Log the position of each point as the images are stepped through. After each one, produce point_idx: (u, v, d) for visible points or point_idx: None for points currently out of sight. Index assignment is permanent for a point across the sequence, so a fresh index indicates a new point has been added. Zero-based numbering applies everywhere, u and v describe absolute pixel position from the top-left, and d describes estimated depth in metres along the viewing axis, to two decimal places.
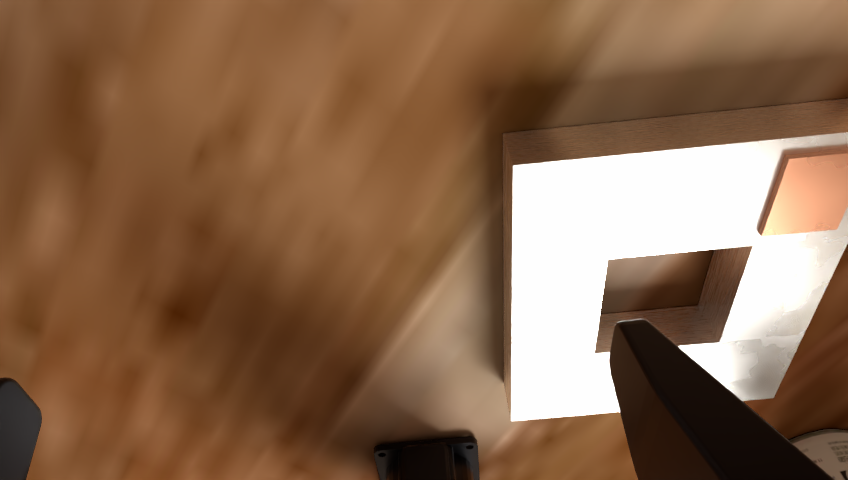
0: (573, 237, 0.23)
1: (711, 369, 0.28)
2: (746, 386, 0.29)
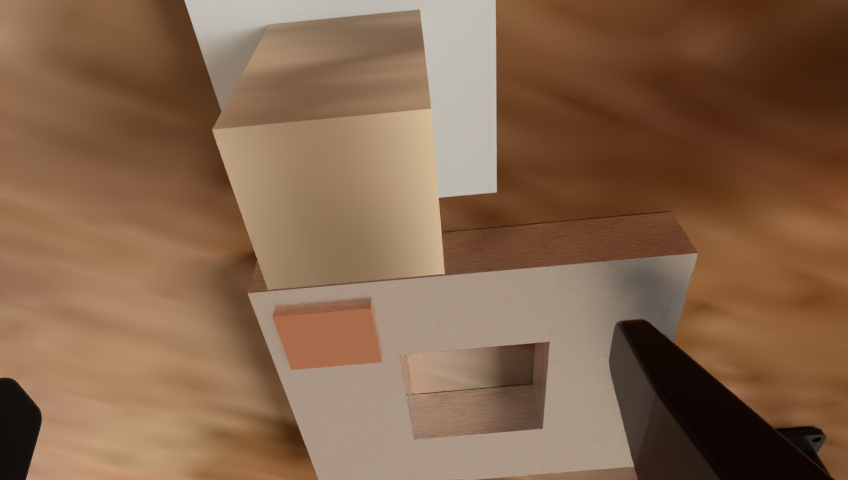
0: (387, 460, 0.27)
1: (601, 335, 0.22)
2: (654, 292, 0.21)
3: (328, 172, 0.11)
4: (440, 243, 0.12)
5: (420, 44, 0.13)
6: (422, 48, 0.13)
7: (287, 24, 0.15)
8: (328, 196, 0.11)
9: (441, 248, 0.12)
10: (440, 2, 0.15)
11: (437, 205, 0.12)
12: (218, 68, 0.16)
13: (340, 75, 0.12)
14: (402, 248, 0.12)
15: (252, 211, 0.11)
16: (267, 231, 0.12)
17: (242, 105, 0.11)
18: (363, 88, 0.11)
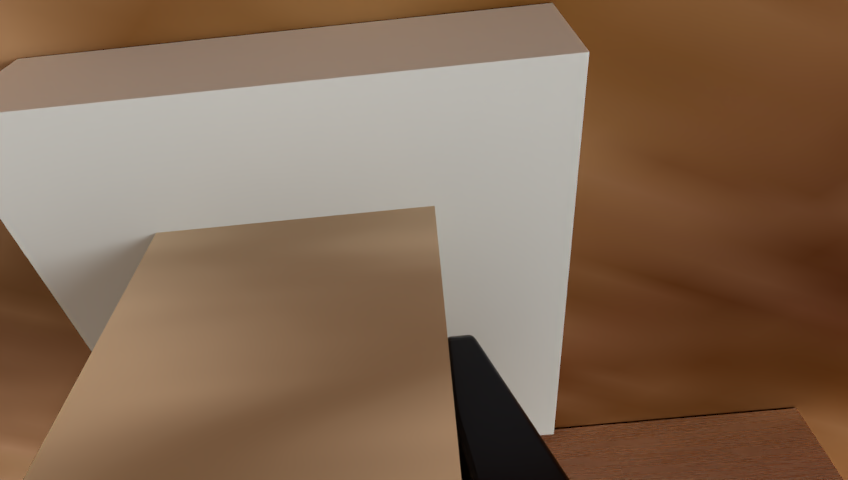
0: None
1: None
2: None
3: None
4: None
5: (443, 353, 0.06)
6: (446, 370, 0.06)
7: (187, 236, 0.08)
8: None
9: None
10: (473, 195, 0.08)
11: None
12: (74, 295, 0.09)
13: None
14: None
15: None
16: None
17: None
18: None
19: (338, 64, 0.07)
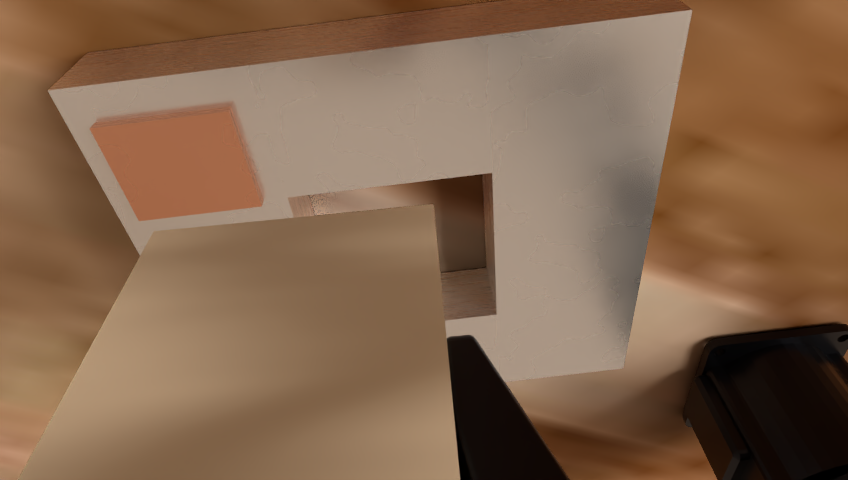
0: None
1: (562, 161, 0.16)
2: (631, 83, 0.15)
3: None
4: None
5: (441, 351, 0.06)
6: (445, 370, 0.06)
7: (185, 235, 0.08)
8: None
9: None
10: None
11: None
12: None
13: None
14: None
15: None
16: None
17: None
18: None
19: None
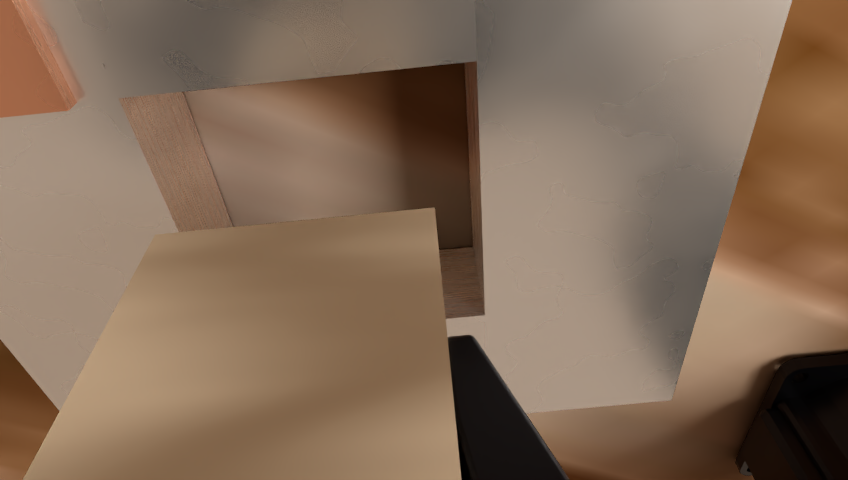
0: None
1: (601, 43, 0.09)
2: None
3: None
4: None
5: (443, 356, 0.06)
6: (447, 374, 0.06)
7: (186, 238, 0.08)
8: None
9: None
10: None
11: None
12: None
13: None
14: None
15: None
16: None
17: None
18: None
19: None
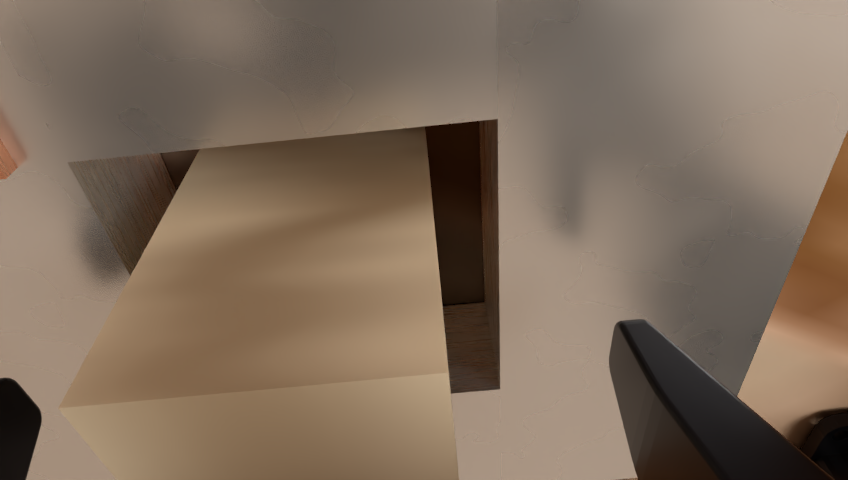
0: None
1: (648, 97, 0.08)
2: None
3: (271, 451, 0.06)
4: None
5: (426, 191, 0.08)
6: (428, 200, 0.08)
7: None
8: (275, 477, 0.07)
9: None
10: None
11: None
12: None
13: (297, 262, 0.07)
14: None
15: None
16: None
17: (126, 336, 0.07)
18: (330, 300, 0.07)
19: None
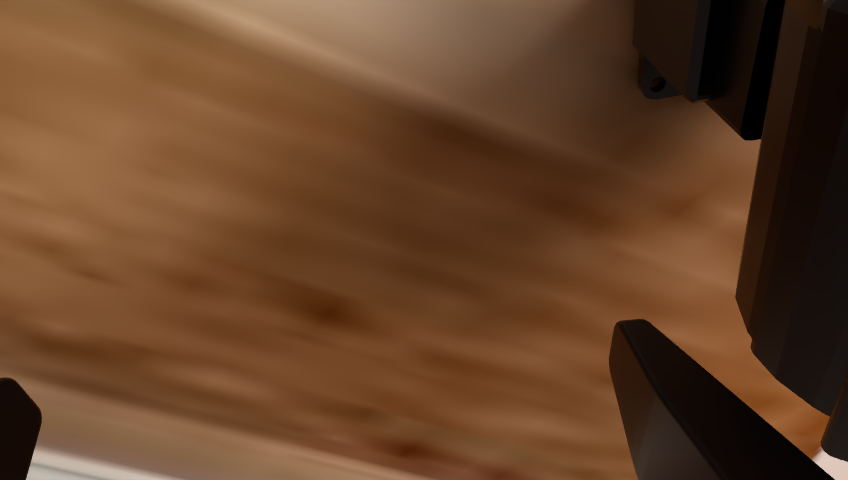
0: None
1: None
2: None
3: None
4: None
5: None
6: None
7: None
8: None
9: None
10: None
11: None
12: None
13: None
14: None
15: None
16: None
17: None
18: None
19: None
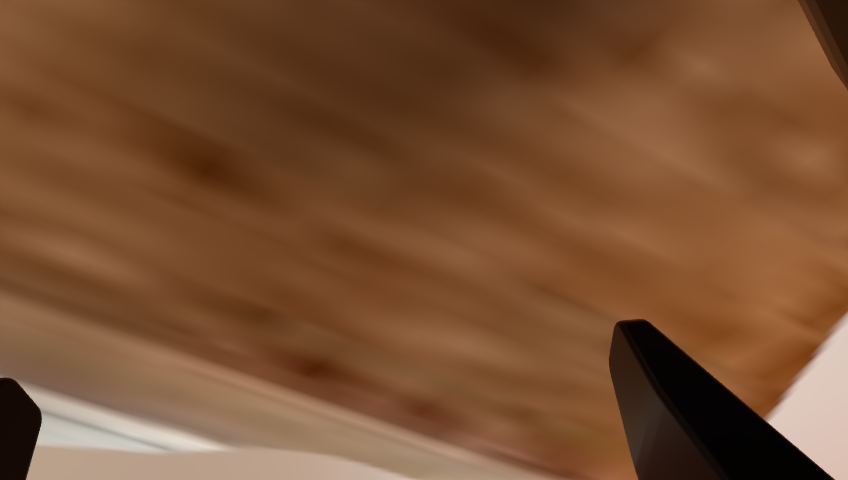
0: None
1: None
2: None
3: None
4: None
5: None
6: None
7: None
8: None
9: None
10: None
11: None
12: None
13: None
14: None
15: None
16: None
17: None
18: None
19: None
